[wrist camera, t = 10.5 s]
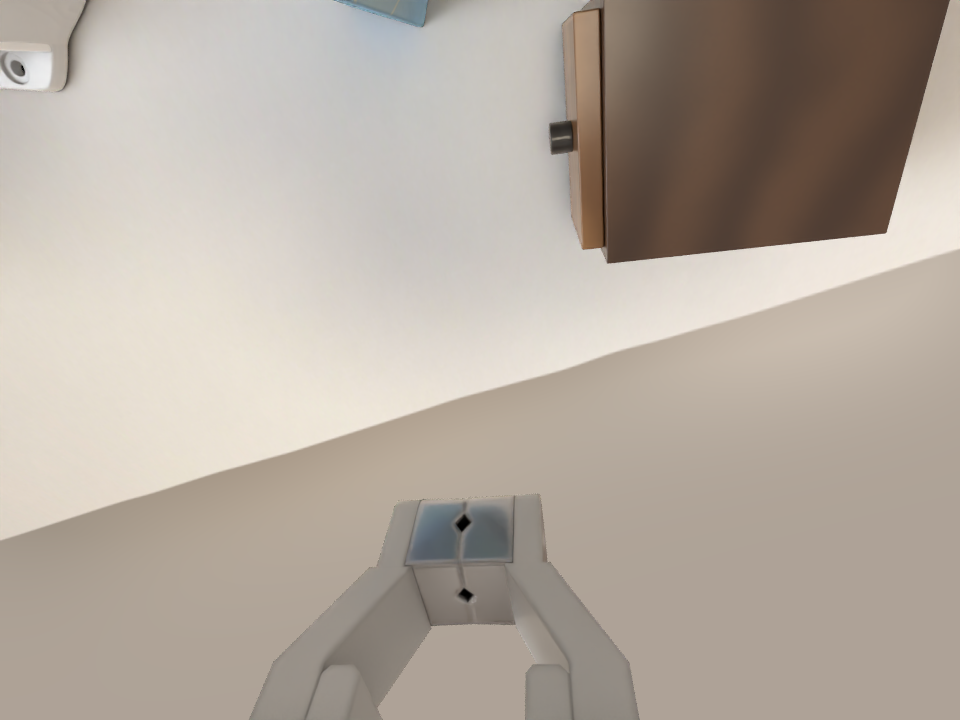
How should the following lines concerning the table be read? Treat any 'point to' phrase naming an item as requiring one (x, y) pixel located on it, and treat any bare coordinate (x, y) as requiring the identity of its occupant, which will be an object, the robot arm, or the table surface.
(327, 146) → the table surface
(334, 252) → the table surface
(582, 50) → the wooden drawer
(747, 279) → the table surface
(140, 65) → the table surface
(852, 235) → the cabinet
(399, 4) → the gum box
